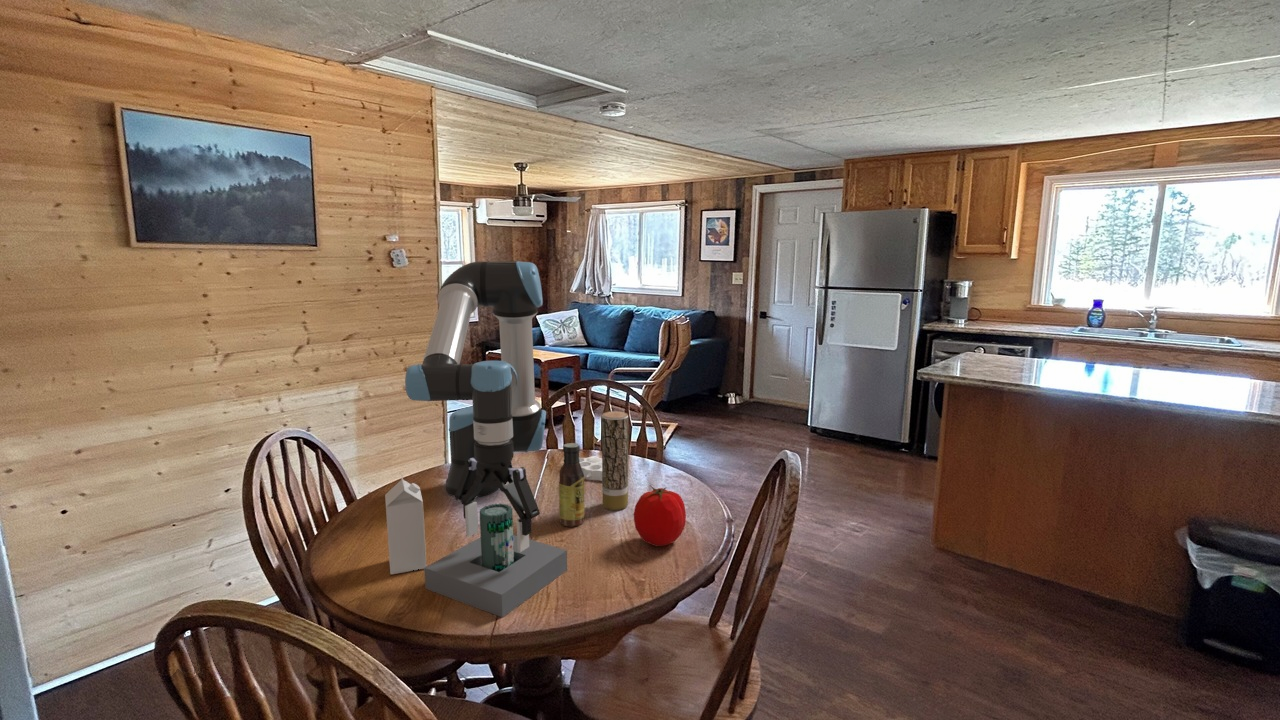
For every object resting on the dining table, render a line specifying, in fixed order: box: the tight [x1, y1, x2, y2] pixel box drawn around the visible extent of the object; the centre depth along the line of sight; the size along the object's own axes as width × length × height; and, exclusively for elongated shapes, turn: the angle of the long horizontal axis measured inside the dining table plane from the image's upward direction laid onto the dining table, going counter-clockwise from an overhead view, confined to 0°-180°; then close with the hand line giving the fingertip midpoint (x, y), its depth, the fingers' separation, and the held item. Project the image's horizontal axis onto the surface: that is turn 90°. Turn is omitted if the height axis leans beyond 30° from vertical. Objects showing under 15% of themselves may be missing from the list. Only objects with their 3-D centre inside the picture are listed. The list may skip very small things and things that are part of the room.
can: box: [479, 503, 514, 572], centre depth 124 cm, size 6×6×15 cm
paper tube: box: [601, 410, 629, 511], centre depth 161 cm, size 7×7×25 cm
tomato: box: [633, 485, 687, 547], centre depth 141 cm, size 12×12×13 cm
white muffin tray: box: [579, 455, 602, 482], centre depth 188 cm, size 3×18×15 cm
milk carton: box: [384, 474, 427, 575], centre depth 130 cm, size 7×7×19 cm
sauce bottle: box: [558, 442, 585, 527], centre depth 151 cm, size 6×6×20 cm
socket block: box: [423, 534, 568, 618], centre depth 125 cm, size 20×20×4 cm
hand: (497, 541), depth 124 cm, fingers open, 13 cm apart
